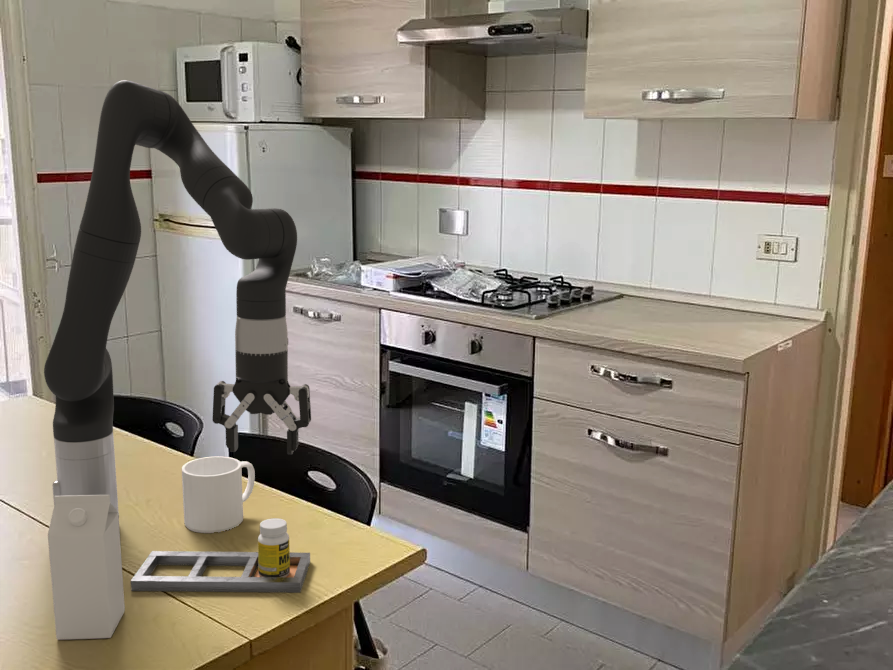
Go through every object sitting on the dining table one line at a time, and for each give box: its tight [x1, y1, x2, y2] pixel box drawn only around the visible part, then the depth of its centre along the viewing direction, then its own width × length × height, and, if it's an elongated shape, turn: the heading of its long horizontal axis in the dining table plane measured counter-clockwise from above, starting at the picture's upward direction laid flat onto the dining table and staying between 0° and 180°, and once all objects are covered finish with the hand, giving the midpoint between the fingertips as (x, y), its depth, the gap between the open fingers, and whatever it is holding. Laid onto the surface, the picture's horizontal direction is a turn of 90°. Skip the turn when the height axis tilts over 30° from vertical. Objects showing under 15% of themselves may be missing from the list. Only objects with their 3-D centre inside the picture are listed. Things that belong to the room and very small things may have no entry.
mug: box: [181, 455, 256, 534], centre depth 158 cm, size 13×10×10 cm
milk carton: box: [47, 495, 126, 641], centre depth 122 cm, size 7×7×19 cm
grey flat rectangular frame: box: [130, 550, 311, 593], centre depth 138 cm, size 25×10×2 cm, turn 90°
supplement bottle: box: [257, 517, 290, 577], centre depth 137 cm, size 5×5×8 cm
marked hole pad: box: [253, 566, 298, 577], centre depth 138 cm, size 6×6×1 cm
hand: (262, 451), depth 135 cm, fingers open, 8 cm apart
